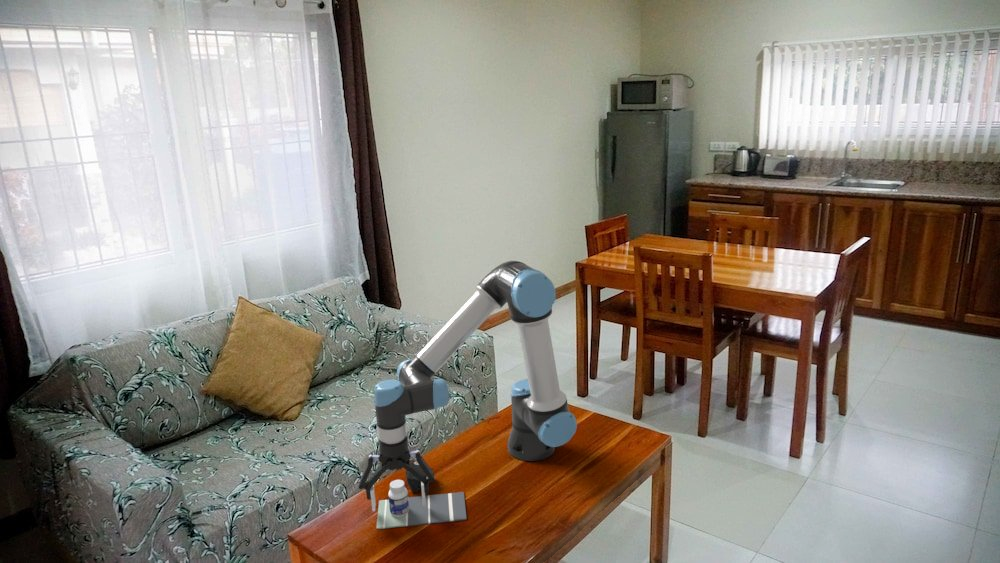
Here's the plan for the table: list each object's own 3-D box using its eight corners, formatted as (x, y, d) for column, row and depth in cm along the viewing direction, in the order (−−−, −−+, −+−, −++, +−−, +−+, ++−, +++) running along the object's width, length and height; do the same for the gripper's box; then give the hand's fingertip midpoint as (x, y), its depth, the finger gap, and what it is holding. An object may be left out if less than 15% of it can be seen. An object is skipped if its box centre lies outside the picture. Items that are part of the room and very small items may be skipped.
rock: (393, 485, 188) (391, 469, 186) (411, 470, 195) (410, 454, 194) (420, 496, 183) (419, 479, 182) (438, 480, 190) (437, 463, 189)
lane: (463, 493, 184) (463, 491, 184) (466, 519, 172) (466, 518, 172) (379, 501, 181) (379, 500, 181) (376, 529, 170) (376, 528, 170)
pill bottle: (388, 508, 177) (385, 480, 175) (407, 503, 179) (404, 476, 177) (392, 519, 173) (389, 491, 170) (411, 514, 174) (408, 486, 172)
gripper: (439, 425, 174) (444, 492, 180) (346, 434, 172) (354, 502, 178) (440, 440, 167) (445, 509, 173) (343, 449, 164) (351, 519, 171)
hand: (399, 505), depth 175 cm, fingers open, 13 cm apart
